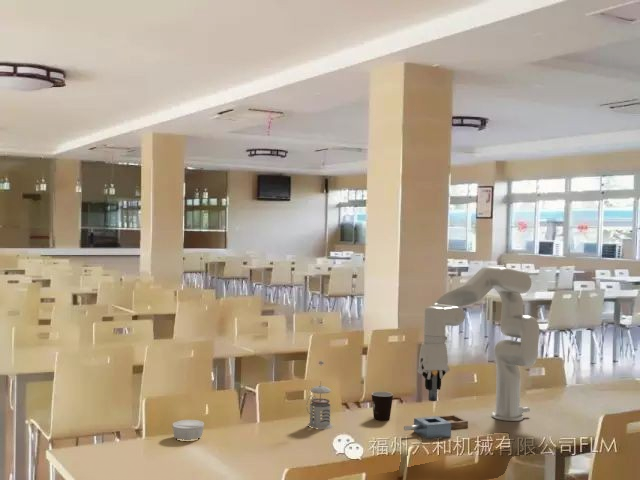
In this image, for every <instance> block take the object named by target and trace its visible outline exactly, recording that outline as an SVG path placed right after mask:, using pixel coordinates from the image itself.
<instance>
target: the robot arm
mask: <svg viewBox="0 0 640 480" xmlns="http://www.w3.org/2000/svg"><path fill="white" fill-rule="evenodd" d="M531 287H532V279H531V277H530V275H529V274H528V273H526V272H523V271H519V270H515V269H512V268H508V267H500V266H484V267H482V268H481V269H479V270H478V271H477V272H476V273H475V274H473V276H472V277H470V279H469V280H468V281H467V282H466V283H464V285H461V286H459V287H457V288H455V289H453V290H450V291H448V292H446V293H444V294H443V295H441V296H440V297H439V298H438V299H437V300H435V302H434V303H433V304H432V305H430V306H426V308H425V310H424V327H423V328H424V329H423V331H424V333H423V342H422V343H421V345H420V350H419V357H418V367H417V370H416V372H417V373H419V374H420V375H422V376H423V379H424V387H425V390H427V391H429V390H431V385H432V380H431V379H430V377H431V371H438V386H437V391H439V390H441V387H442V379H443V378H444V376H445V375H446V374H447V373H449V372H450V366H449V365H448V350H447V344H446V341H447V340H448V336H447V335H445V333H446V331H445V329H446V326H452V327H458V326H461V324H463V322H464V321H465V318H466V314H465V311H464V310H463V308H461V307H464V306H471V305H474V304H477V303H479V302H480V301H481V300H482V299H483V298H484V297H485V296H486V295H488V293H489V292H490V291H491V290H493V289H495V291H496V292H497V293H498V295H499V297H500V299H501V310H500V311H501V312H500V313H501V314H500V324H499V325H500V332H501V334H502V335H504V336H506V337H509V338H516V339H520V341H517V340H511V339H502V340H499V341H497V343H495V344H496V345H495V346H494V351H493V352H494V359H495V365H496V380H495V381H496V383H495V411H492V412H491V417H492V418H494V419H496V420H499V421H505V422H518V421H523V420H524V417H525V416H524V413H529V412H530V411H531V410H530V407H529V406H525V407H523V406H521V381H522V380H521V379H522V378H521V371H520V368H519V367H525V368H531V367H533V366H534V365H535V364H536V362H537V359H538V354H539V342H540V341H539V339H540V325H539V321H538V320H537V319H536V318H535V317H533V316H531V315H525V314H524V300H523V297H522V294H526V293H528V292H529V291H530V289H531Z"/></svg>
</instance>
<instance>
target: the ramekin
mask: <svg viewBox="0 0 640 480" xmlns="http://www.w3.org/2000/svg"><path fill="white" fill-rule="evenodd" d="M204 426H205V423H204V421H202V420H198V419H181V420H178V421H175V422H173V423H172V425H171V427H172V432H173V437H174V439H175V438H177V439H182V440H183V439H184V440H191V439H197V438H200V437H201V436H202V437H203V433H204V432H203V431H204ZM202 437H201V438H202ZM201 438H200V439H201Z"/></svg>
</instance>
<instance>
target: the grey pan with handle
mask: <svg viewBox="0 0 640 480" xmlns="http://www.w3.org/2000/svg"><path fill="white" fill-rule="evenodd" d="M438 416H439V415H438ZM438 416H437V415H435V416H425V417H414V418H413V424H412V425H405V426H403V430H404V431H406V432H407V431H413V432H415V433H416V434H417V435H419V436H421V437H423V438H425V439H427V440H428V439H429V440H430V439H438V438H437V437H441V438H449V437H450V436H451V437H452V429H451V423H450V422H448V421H446V420H444V419H442V418H440V417H438ZM451 437H450V438H451Z"/></svg>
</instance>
